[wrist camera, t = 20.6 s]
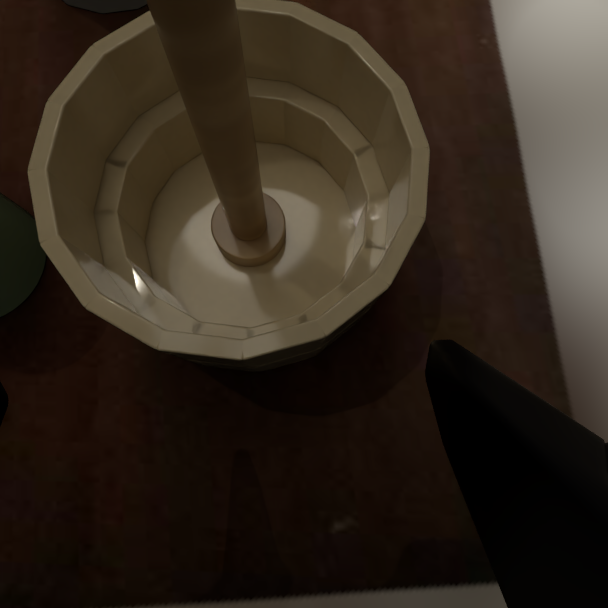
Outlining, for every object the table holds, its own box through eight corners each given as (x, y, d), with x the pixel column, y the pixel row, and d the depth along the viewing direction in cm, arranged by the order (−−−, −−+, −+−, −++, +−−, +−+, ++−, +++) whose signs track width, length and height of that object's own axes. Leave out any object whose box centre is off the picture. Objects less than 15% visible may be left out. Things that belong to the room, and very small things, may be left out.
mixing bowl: (435, 261, 20) (509, 192, 13) (223, 429, 18) (183, 450, 11) (276, 80, 22) (270, -63, 15) (69, 217, 20) (-46, 124, 13)
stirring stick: (300, 239, 20) (351, -664, 3) (243, 281, 19) (-89, -512, 2) (257, 188, 20) (89, -843, 3) (201, 227, 19) (-323, -746, 3)
